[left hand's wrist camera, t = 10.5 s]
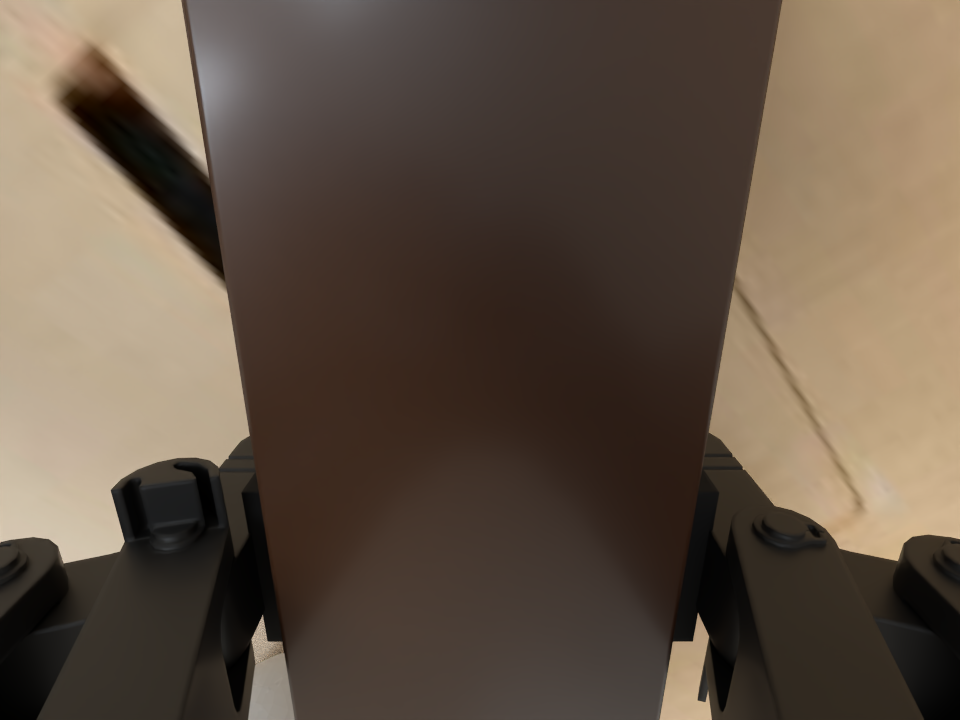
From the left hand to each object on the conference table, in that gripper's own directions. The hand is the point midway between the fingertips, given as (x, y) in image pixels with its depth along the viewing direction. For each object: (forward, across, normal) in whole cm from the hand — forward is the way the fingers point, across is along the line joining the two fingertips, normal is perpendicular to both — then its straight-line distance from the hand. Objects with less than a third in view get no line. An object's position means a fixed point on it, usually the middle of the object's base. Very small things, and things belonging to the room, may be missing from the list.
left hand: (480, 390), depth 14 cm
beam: (0, 0, +10) cm, 10 cm away
